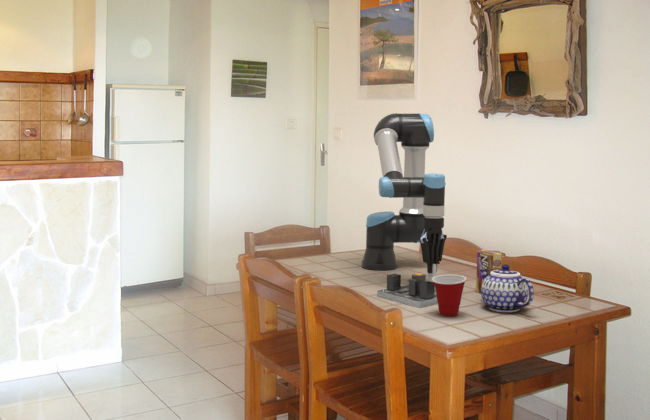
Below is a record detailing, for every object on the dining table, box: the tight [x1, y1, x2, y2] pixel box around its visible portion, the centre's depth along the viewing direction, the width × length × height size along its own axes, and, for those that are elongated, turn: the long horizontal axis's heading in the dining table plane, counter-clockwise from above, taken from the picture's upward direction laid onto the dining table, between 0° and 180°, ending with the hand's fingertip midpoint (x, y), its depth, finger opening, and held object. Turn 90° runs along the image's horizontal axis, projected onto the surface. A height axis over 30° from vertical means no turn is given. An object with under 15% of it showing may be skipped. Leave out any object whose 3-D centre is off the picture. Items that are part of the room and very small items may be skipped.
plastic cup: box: [432, 274, 467, 317], centre depth 221 cm, size 11×11×12 cm
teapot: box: [479, 263, 535, 313], centre depth 229 cm, size 25×15×15 cm, turn 25°
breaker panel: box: [376, 273, 438, 309], centre depth 243 cm, size 20×20×7 cm
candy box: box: [475, 249, 503, 294], centre depth 249 cm, size 9×4×15 cm, turn 26°
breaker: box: [411, 272, 427, 282], centre depth 247 cm, size 4×3×5 cm
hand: (431, 281), depth 252 cm, fingers closed
